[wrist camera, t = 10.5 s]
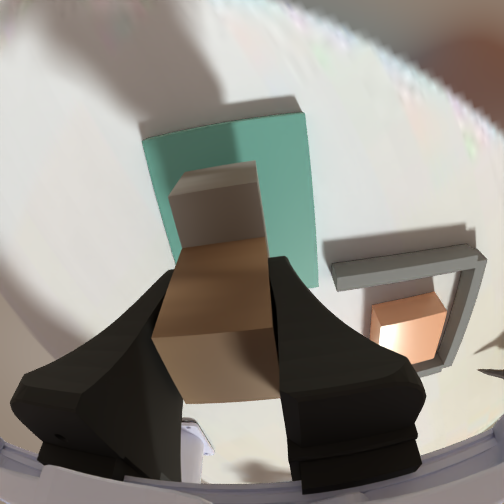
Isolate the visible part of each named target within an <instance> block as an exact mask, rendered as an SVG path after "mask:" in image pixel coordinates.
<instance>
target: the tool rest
mask: <svg viewBox="0 0 504 504" xmlns="http://www.w3.org/2000/svg"><path fill="white" fill-rule="evenodd" d="M142 144H143V148H144V152H145V156H146V160H147V164H148V168H149V172H150V176H151V180H152V184H153V187H154V191H155V195H156V198H157V202H158V206H159V209H160V213H161V216H162V220H163V223H164V227H165V230H166V234H167V237H168V240H169V244H170V247H171V250H172V253H173V257H174V260H175V263H177V261H178V258H179V255H180V252H181V250H182V247H181V243H180V240H179V236H178V232H177V229H176V225H175V222H174V218H173V214H172V211H171V207H170V203H169V199H168V196H169V194H170V193H171V191H172V190H173V188H174V187H175V185H176V184H177V182H178V181H179V179H180V178H181V176H182V175H183V174H184V172H187V171H193V170H198V169H204V168H209V167H215V166H221V165H227V164H234V163H240V162H247V161H253V160H256V166H257V173H258V179H259V186H260V192H261V199H262V206H263V212H264V219H265V226H266V233H267V240H268V247H269V254H270V257H278V256H286V257H287V258H288V260H289V262H290V264H291V266H292V267H293V269H294V270H295V272H296V273H297V275H298V276H299V278H300V279H301V280H302V282H303V283H304V284H305V285H306V287H307V288H314V287H319V285H318V262H317V244H316V228H315V213H314V200H313V188H312V177H311V166H310V156H309V146H308V137H307V128H306V119H305V113H303V112H296V113H287V114H278V115H270V116H262V117H255V118H248V119H241V120H235V121H229V122H223V123H217V124H212V125H206V126H201V127H196V128H191V129H186V130H181V131H177V132H172V133H168V134H163V135H159V136H155V137H151V138H147V139H145V140H143V141H142Z"/></svg>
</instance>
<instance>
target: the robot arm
mask: <svg viewBox="0 0 504 504" xmlns="http://www.w3.org/2000/svg"><path fill="white" fill-rule="evenodd" d="M268 269H269V278H270V285H271V292H272V299H273V306H274V313H275V320H276V327H277V334H278V344H279V391H280V397H281V403H282V410H283V416H284V422H285V428H286V435H287V445H288V461H289V464H290V470H291V476H292V481H289V482H277V483H259V484H202V483H201V473H202V463H203V455H214V454H215V451H214V450H213V448H212V446H211V445H210V443H209V442H208V440H207V439H206V437H205V435H204V434H203V432H202V431H201V429H200V427H199V426H198V424H196V423H188V422H182V407H183V398H182V396H181V394H180V392H179V391H178V389H177V387H176V385H175V383H174V381H173V380H172V378H171V376H170V374H169V372H168V370H167V368H166V366H165V364H164V363H163V361H162V359H161V357H160V355H159V353H158V351H157V349H156V347H155V345H154V343H153V341H152V339H151V337H152V334H153V331H154V328H155V325H156V322H157V318H158V315H159V312H160V309H161V306H162V303H163V300H164V298H165V295H166V292H167V289H168V286H169V283H170V280H171V277H172V275H173V272H174V269H172V270H168V271H167V272H166V273H165V274H163V275H162V276H161V277H160V278H159V279H158V280H157V281H156V282H155V283H154V284H153V285H152V286H151V287H150V288H149V289H148V290H147V291H146V292H145V293H144V294H143V295H142V296H141V297H140V298H139V299H138V300H137V301H136V302H135V303H134V304H133V305H132V306H131V307H130V308H129V309H128V310H127V311H126V312H125V313H123V314H122V315H121V316H120V317H119V318H118V319H117V320H116V321H115V322H113V323H112V324H111V325H110V326H108V327H107V328H106V329H105V330H103V331H102V332H101V333H99V334H98V335H97V336H95V337H94V338H92V339H91V340H89V341H88V342H86V343H85V344H83V345H82V346H80V347H79V348H77V349H76V350H74V351H72V352H70V353H69V354H67V355H65V356H63V357H61V358H59V359H58V360H56V361H54V362H52V363H50V364H48V365H46V366H43V367H41V368H38V369H36V370H34V371H31V372H29V373H26V374H24V376H23V377H22V379H21V381H20V383H19V385H18V387H17V389H16V391H15V393H14V395H13V397H12V399H11V401H10V405H11V408H12V411H13V412H14V414H15V415H16V417H17V418H18V419H19V420H20V421H21V422H22V423H23V424H24V425H25V426H26V427H27V428H28V429H30V431H32V432H33V433H34V434H35V435H36V436H37V437H38V438H39V439H40V440H42V441H43V444H42V446H41V449H40V452H39V454H37V453H34V452H31V451H28V450H25V449H23V448H20V447H17V446H15V445H12V444H10V443H7V442H5V441H4V440H3V439H2V438H1V437H0V500H1V501H3V502H5V503H7V504H502V503H504V414H503V415H502V416H501V417H500V418H499V419H498V420H497V421H496V423H495V424H494V426H493V428H491V429H489V430H487V431H485V432H482V433H480V434H478V435H475V436H473V437H471V438H468V439H466V440H463V441H461V442H458V443H456V444H453V445H450V446H448V447H445V448H442V449H439V450H436V451H433V452H430V453H427V454H424V455H421V456H420V454H419V450H418V447H417V444H416V440H415V439H417V437H418V433H417V430H416V427H415V421H416V419H417V417H418V415H419V413H420V411H421V409H422V407H423V405H424V403H425V399H426V393H425V389H424V387H423V384H422V382H421V379H420V377H419V376H418V374H417V372H416V371H415V369H414V367H413V366H412V364H411V363H410V361H409V359H408V358H407V357H406V356H403V355H401V354H399V353H396V352H394V351H392V350H390V349H387V348H385V347H383V346H381V345H379V344H377V343H375V342H373V341H371V340H370V339H368V338H366V337H364V336H363V335H361V334H360V333H358V332H357V331H355V330H354V329H352V328H351V327H349V326H348V325H346V324H345V323H344V322H342V321H341V320H340V319H339V318H337V317H336V316H335V315H334V314H333V313H332V312H330V311H329V310H328V309H327V308H326V307H325V306H324V305H323V304H322V303H321V302H320V301H319V300H318V299H317V298H316V297H315V296H314V295H313V294H312V293H311V291H310V290H309V289H308V288H307V287H306V285H305V284H304V283H303V282H302V280H301V279H300V278H299V276H298V275H297V273H296V272H295V270H294V269H293V267H292V266H291V264H290V262H289V260H288V258H287V257H286V256H278V257H270V258H268Z"/></svg>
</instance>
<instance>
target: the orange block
mask: <svg viewBox="0 0 504 504" xmlns="http://www.w3.org/2000/svg"><path fill="white" fill-rule="evenodd" d="M446 314H447V310H446V308H445V307H444V305H443V304H442V302H441V301H440V299H439V298H438V296H437V295H436V293H435V292H430V293H426V294H421V295H417V296H413V297H408V298H404V299H399V300H394V301H389V302H385V303H380V304H375V305H372V313H371V327H370V340H371V341H373V342H375V343H377V344H379V345H381V346H383V347H385V348H387V349H390V350H392V351H394V352H396V353H399V354H401V355H403V356H406V357H407V358H408V359H409V361H410V363H411V364H415V363H419V362H422V361H426V360H429V359H433V358H434V356H435V353H436V349H437V346H438V343H439V339H440V336H441V333H442V329H443V325H444V322H445V318H446Z"/></svg>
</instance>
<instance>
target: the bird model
mask: <svg viewBox="0 0 504 504" xmlns="http://www.w3.org/2000/svg"><path fill="white" fill-rule="evenodd" d="M478 371H481V372H483V373H485V374H487V375H491V376H495V377H499V378H503V379H504V370H494V369H487V370H486V369H478Z"/></svg>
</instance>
